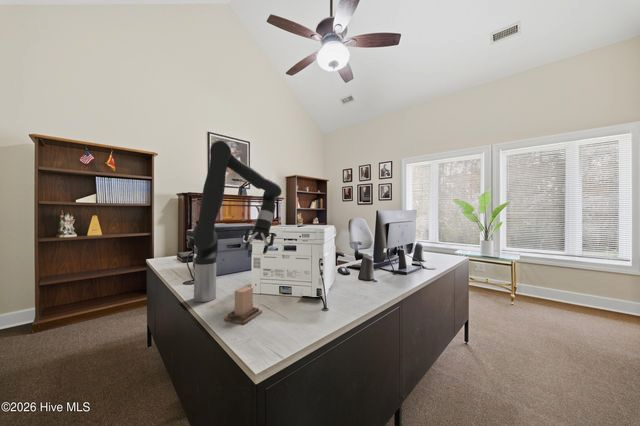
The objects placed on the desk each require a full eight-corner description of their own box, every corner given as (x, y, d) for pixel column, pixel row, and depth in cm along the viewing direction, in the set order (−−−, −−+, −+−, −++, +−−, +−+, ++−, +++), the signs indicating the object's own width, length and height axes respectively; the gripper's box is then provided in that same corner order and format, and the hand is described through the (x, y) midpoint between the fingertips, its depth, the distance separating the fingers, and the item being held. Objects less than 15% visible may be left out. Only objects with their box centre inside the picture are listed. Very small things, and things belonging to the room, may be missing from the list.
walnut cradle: (223, 320, 92) (223, 313, 92) (243, 308, 103) (243, 302, 103) (244, 324, 89) (244, 317, 89) (262, 312, 100) (262, 305, 100)
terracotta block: (234, 316, 94) (234, 290, 94) (244, 310, 100) (244, 286, 100) (242, 318, 93) (243, 292, 93) (252, 312, 98) (252, 287, 98)
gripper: (248, 215, 119) (238, 247, 113) (276, 221, 118) (267, 253, 112) (252, 220, 126) (243, 250, 120) (279, 225, 125) (271, 256, 119)
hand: (255, 252), depth 116 cm, fingers open, 8 cm apart
